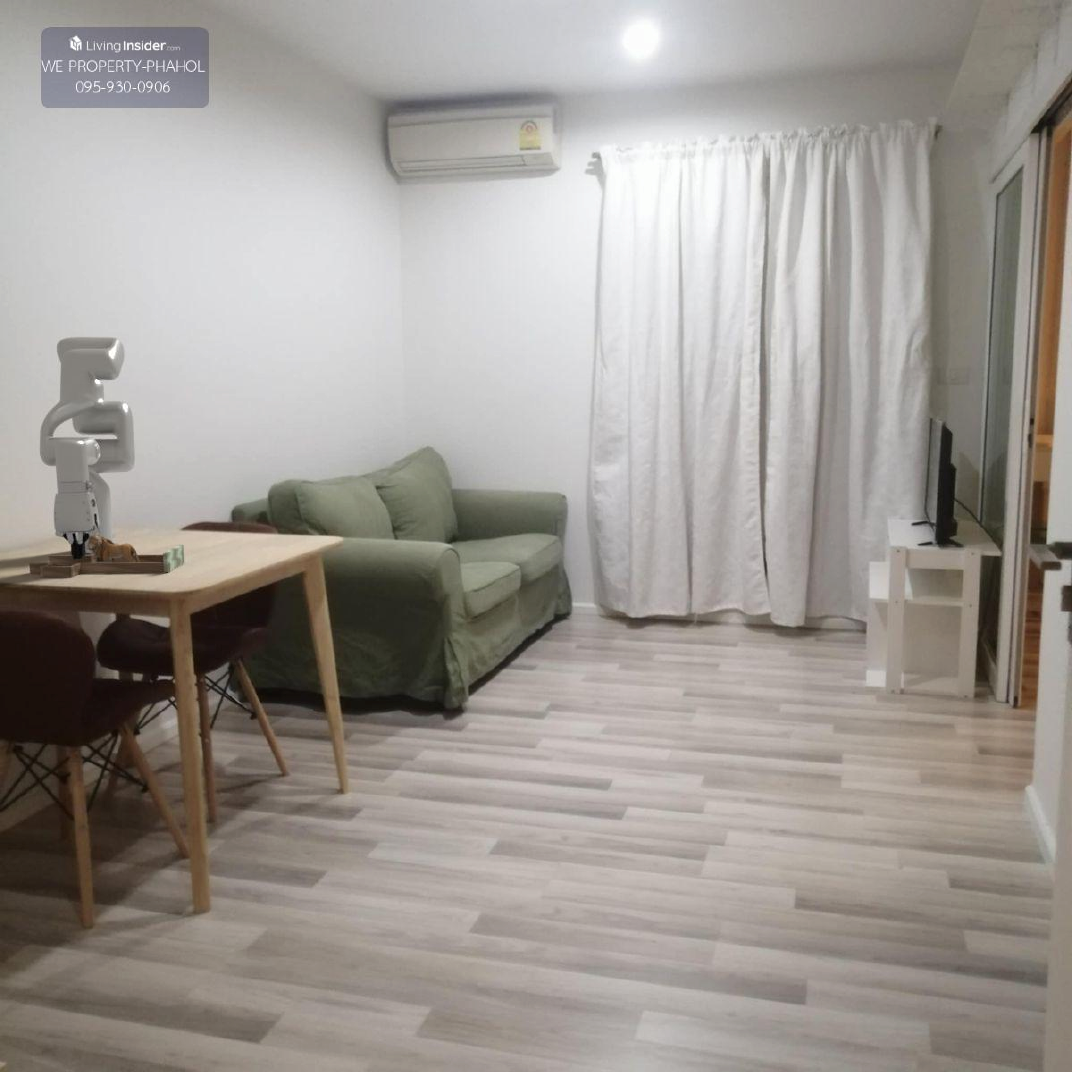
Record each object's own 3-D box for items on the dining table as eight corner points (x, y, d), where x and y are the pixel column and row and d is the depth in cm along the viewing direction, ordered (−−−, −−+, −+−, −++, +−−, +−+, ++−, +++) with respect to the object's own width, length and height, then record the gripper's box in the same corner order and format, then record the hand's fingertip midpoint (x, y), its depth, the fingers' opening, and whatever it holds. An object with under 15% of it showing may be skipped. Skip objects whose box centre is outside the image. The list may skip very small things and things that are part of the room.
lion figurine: (85, 571, 266) (83, 536, 264) (94, 567, 271) (92, 533, 269) (142, 570, 265) (140, 536, 264) (150, 567, 271) (148, 533, 269)
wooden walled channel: (59, 561, 279) (58, 542, 279) (189, 560, 280) (188, 542, 279) (20, 577, 258) (19, 557, 257) (162, 576, 258) (160, 556, 257)
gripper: (108, 486, 269) (113, 555, 272) (51, 486, 269) (56, 556, 272) (96, 489, 262) (101, 561, 264) (37, 489, 262) (43, 561, 264)
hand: (78, 558), depth 268 cm, fingers closed
